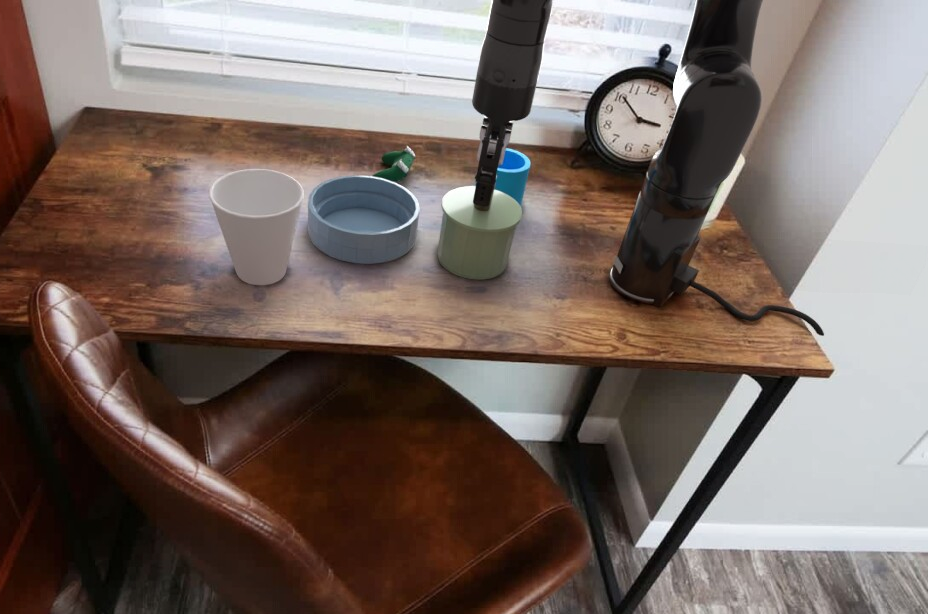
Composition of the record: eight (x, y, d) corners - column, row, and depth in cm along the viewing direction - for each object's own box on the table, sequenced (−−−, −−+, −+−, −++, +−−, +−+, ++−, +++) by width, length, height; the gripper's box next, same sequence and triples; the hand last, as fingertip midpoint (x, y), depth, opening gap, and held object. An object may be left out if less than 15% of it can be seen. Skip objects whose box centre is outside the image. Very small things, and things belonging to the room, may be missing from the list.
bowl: (437, 238, 108) (441, 207, 104) (363, 280, 98) (365, 248, 94) (361, 195, 115) (362, 164, 111) (285, 231, 105) (284, 199, 101)
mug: (523, 219, 114) (533, 174, 109) (473, 215, 114) (481, 169, 108) (515, 182, 123) (524, 139, 118) (469, 178, 123) (476, 134, 117)
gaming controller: (382, 197, 118) (409, 179, 115) (368, 179, 117) (395, 161, 114) (394, 171, 125) (420, 154, 122) (381, 155, 124) (407, 137, 120)
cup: (210, 251, 99) (201, 172, 91) (293, 241, 103) (292, 164, 95) (224, 303, 91) (216, 221, 83) (314, 290, 95) (314, 211, 87)
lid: (523, 201, 103) (532, 163, 99) (517, 242, 95) (526, 203, 91) (447, 186, 104) (453, 148, 100) (434, 226, 96) (440, 187, 92)
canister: (509, 246, 108) (520, 198, 103) (503, 285, 100) (514, 236, 95) (443, 233, 109) (450, 185, 103) (432, 271, 101) (439, 221, 96)
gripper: (534, 101, 81) (506, 221, 91) (541, 58, 91) (515, 170, 102) (470, 89, 81) (449, 210, 92) (484, 47, 92) (464, 160, 102)
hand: (484, 189), depth 97 cm, fingers open, 8 cm apart
